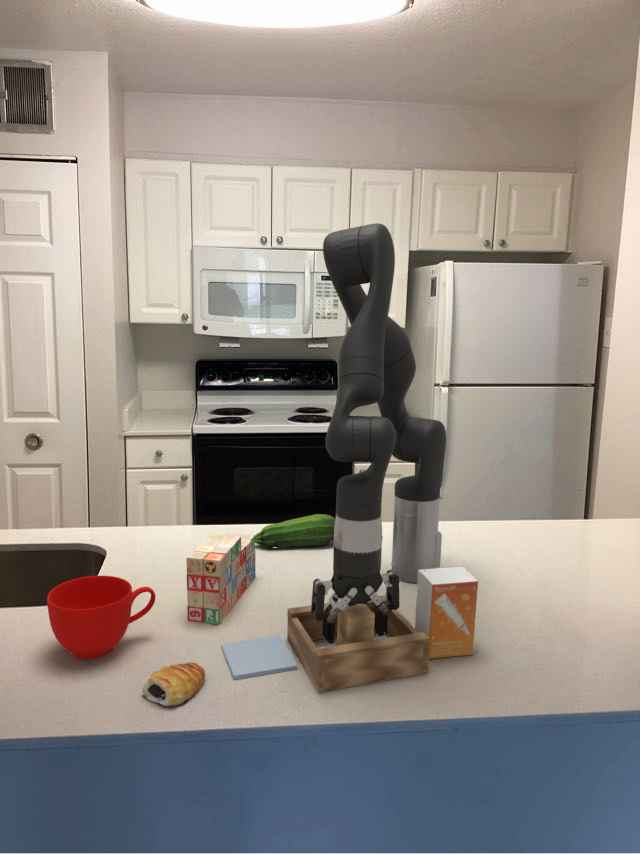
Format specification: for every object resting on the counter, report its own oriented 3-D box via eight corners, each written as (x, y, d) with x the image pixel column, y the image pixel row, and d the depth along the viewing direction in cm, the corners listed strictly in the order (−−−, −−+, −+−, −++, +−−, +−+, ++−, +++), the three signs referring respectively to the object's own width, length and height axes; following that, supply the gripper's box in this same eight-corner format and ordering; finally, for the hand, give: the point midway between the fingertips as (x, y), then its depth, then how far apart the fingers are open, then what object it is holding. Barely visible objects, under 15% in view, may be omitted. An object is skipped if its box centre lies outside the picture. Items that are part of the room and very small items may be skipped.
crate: (385, 625, 121) (386, 595, 120) (427, 672, 106) (429, 638, 105) (287, 640, 115) (287, 608, 114) (317, 692, 100) (318, 655, 99)
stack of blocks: (227, 574, 142) (226, 518, 140) (256, 577, 141) (256, 520, 139) (187, 622, 122) (185, 556, 119) (220, 625, 120) (219, 559, 118)
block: (362, 647, 114) (363, 602, 112) (373, 661, 109) (374, 614, 108) (336, 651, 112) (337, 605, 111) (346, 665, 108) (347, 618, 106)
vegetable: (338, 511, 158) (252, 515, 154) (341, 542, 156) (253, 547, 153) (333, 516, 165) (250, 520, 161) (335, 546, 163) (251, 551, 159)
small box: (427, 660, 110) (431, 584, 107) (413, 641, 116) (416, 568, 113) (474, 655, 112) (479, 580, 109) (458, 636, 118) (462, 565, 115)
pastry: (183, 669, 106) (183, 646, 106) (217, 682, 103) (217, 659, 102) (138, 698, 99) (137, 674, 98) (173, 714, 95) (172, 689, 94)
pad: (280, 638, 116) (280, 635, 116) (297, 668, 107) (297, 665, 107) (221, 647, 113) (221, 644, 113) (233, 679, 103) (233, 675, 103)
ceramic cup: (167, 651, 111) (166, 594, 109) (57, 678, 103) (53, 616, 101) (145, 618, 122) (144, 565, 120) (44, 640, 114) (41, 584, 112)
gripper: (389, 530, 113) (385, 621, 116) (307, 538, 108) (305, 633, 111) (409, 545, 106) (405, 642, 109) (322, 555, 101) (320, 656, 104)
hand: (354, 637), depth 110 cm, fingers open, 8 cm apart
